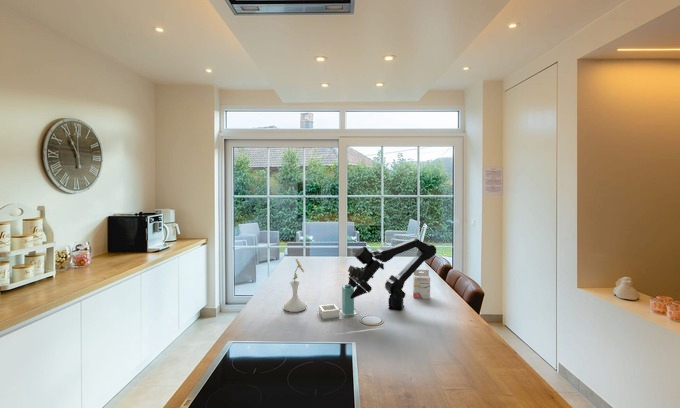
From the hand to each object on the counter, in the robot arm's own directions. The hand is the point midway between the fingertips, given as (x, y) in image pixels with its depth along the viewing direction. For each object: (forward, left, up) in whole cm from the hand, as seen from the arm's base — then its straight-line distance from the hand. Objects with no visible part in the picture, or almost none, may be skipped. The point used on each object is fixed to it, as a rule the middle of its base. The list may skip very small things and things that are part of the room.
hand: (347, 295), depth 163 cm
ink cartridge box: (-27, -38, -9) cm, 47 cm away
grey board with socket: (+4, +3, -9) cm, 10 cm away
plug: (0, 0, -8) cm, 8 cm away
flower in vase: (+26, +5, -9) cm, 28 cm away
